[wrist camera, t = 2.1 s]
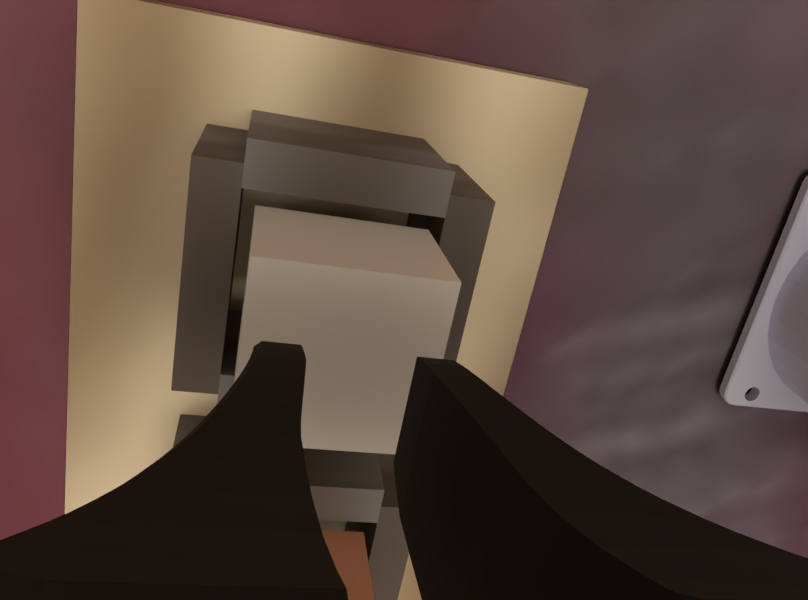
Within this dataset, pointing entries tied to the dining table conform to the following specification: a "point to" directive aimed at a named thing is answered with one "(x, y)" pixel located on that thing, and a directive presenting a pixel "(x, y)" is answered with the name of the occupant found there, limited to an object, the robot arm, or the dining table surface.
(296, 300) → the offwhite button
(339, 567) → the terracotta button
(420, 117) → the button panel
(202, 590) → the robot arm
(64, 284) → the dining table surface
